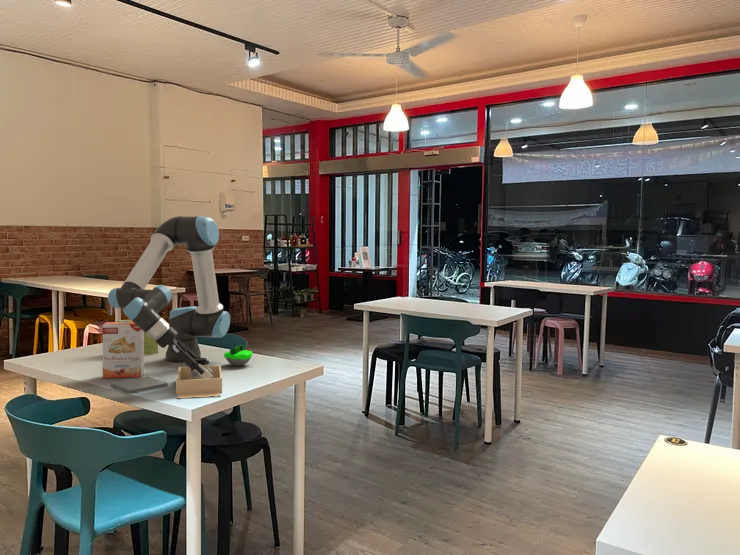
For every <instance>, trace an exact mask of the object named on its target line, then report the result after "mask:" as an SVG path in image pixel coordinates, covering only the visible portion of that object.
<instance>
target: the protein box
mask: <svg viewBox="0 0 740 555" xmlns="http://www.w3.org/2000/svg"><path fill="white" fill-rule="evenodd" d="M117 322H133V321H131V320H130V319H122V320H121V319H120V320H117ZM147 335H148V334H146V332H144V354H147V355H153V354H152V353H156V354H158V353H159V345H158V344H157V343H156V339H155V340H153V339H152V338H151V337H150V336H149V337H147Z"/></svg>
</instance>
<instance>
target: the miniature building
mask: <svg viewBox="0 0 740 555" xmlns="http://www.w3.org/2000/svg"><path fill="white" fill-rule="evenodd" d="M235 342H236V341H233V346H231V347H230V349H229V350H228V351H226V352H224V353H223V357H224V358H225V360H226V361H227V362H228V363H229V364H230V365H231V366H233V367H238V366H239V367H242V365H243V366H245V364H247V363H249V361H250V360H251V358H252V357H253V354H254V353H253V351H252V350H247V349H245V345H243V344H239V345H236V343H235Z"/></svg>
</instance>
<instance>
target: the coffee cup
mask: <svg viewBox="0 0 740 555" xmlns="http://www.w3.org/2000/svg"><path fill="white" fill-rule="evenodd" d="M194 360H195V361H196V362H197V363H198V364H200V365H201V366H202V367H204V368H205V369H206V370H207V371H208V367H209V366H210V361H209V360H208V359H207V358H206V357H201V358H194ZM191 373H192V379H203V378H202V377H201V376H200V375H199V374H198V373H197V372H196V371H195V370H193V371H191Z"/></svg>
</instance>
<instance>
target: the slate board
mask: <svg viewBox="0 0 740 555" xmlns="http://www.w3.org/2000/svg"><path fill="white" fill-rule="evenodd" d="M168 383H169V382H166V381H164V380H160V379H157V378H154V377H151V376H148V375H147V376H142V377H135V378H132V379H125V380H120V381H114V382H110V387H112V388H115V389H117V390H120V391H122V392H125V393H128V394H135V393H134V392H136V393H141V392H146V391H151V390H155V389H160V388H165V386H166V387H168ZM140 391H141V392H140Z"/></svg>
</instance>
